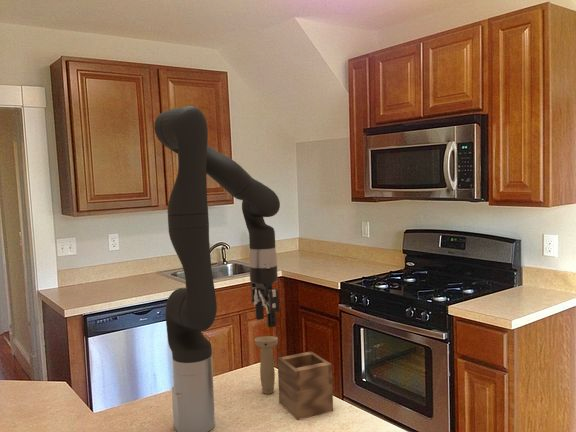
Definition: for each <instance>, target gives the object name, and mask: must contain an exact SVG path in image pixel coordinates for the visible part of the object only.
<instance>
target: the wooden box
mask: <svg viewBox="0 0 576 432" xmlns="http://www.w3.org/2000/svg"><path fill="white" fill-rule="evenodd" d="M277 376H278V377H277V379H278V381H277V382H278V383H277V384H278V403H279V404H280V405H281V406H282V407H283V408H284V409H285V410H287V412H289V413H290V414H291V415H292V416H293V417H294V418H295V419H296V420H301V419H306V418H310V417H315V416H317V415H321V414H326V413H329V412H333V411H334V397H333V396H334V395H333V394H334V393H333V391H334V390H333V388H334V387H333V364H332V363H331V362H329V361H328V360H326V359H324V358H322V357H321V356H320V355H318V354H317V353H315V352H313V351H312V350H311V351H306V352H301V353H300V352H299V353H295V354H291V355H286V356H281V357H280V356H279V357H277Z"/></svg>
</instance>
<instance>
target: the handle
mask: <svg viewBox="0 0 576 432" xmlns="http://www.w3.org/2000/svg"><path fill="white" fill-rule="evenodd" d="M278 344H279V338H278V336H270V335H269V336H268V335H266V336H265V335H264V336H263V335H262V336H257V337H255V338H254V345H255V346H256V347H259V349H260V365H259V367H260V368H259V369H260V370H259V376H260V377H259V378H260V385H261V391H262V393H263V394H266V395H270V394H273V393H274V391H275V390H274V389H275V380H276V379H275V378H276V377H275V375H276V373H275V363H274V347H275V346H277V345H278Z"/></svg>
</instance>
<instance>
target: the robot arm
mask: <svg viewBox="0 0 576 432" xmlns="http://www.w3.org/2000/svg"><path fill="white" fill-rule="evenodd" d="M153 128H154V133H155V136H156V139H157V140H158V141H159V142H160V143H161V144H162V145H163V146H164V147H165V148H167V149H169V150H171V151H172V152H174V153H175V154H177V160H178V166H177V167H178V169H177V175H176V178H175V181H174V184H173V187H172V189H171V192H170V195H169V199H168V203H167V224H168V225H167V227H168V229H167V230H168V235H169V239H170V242H171V244H172V247H173V250H174V251H175V253H176V255H177V257H178V260H179V261H180V263H181V266H182V269H183V274H184V278H185V279H184V280H185V287H180V288H176V289H175V290H173V292H171V293H170V295H169V296H168V299H167V301H166V304H165V323H166V333H167V336H166V337H167V343H168V347H169V349H170V350H171V355H172V374H173V386H172V387H171V395H172V396H171V397H172V417H173V420H172V421H173V426H174V429H175V431H176V432H211V430H213V429H214V427H215V424H216V420H215V418H216V417H215V416H216V415H215V397H214V393H215V392H214V376H213V375H214V373H213V372H214V371H213V353H212V352H213V349H212V343H211V342H210V341H209V339H207V338H206V336H205V335H204V334H203V332H205V331H207V330H208V329H210V328H211V327H212V325H213V324H214V322H215V320H216V316H217V310H218V309H217V308H218V306H217V304H218V303H217V296H216V290H215V289H216V288H215V284H214V277H213V271H212V260H211V256H212V255H211V247H210V246H211V245H210V223H209V222H210V220H209V207H208V189H207V188H208V185H207V184H208V183H207V176H209V177H210V178H211V179H212V180H214V181H215V182H216V183H218V185H220V186H221V187H222V188H223V189H224V190H225V191H226V192H227V193H229V194H230V195H231V197H233V198H235V199H236V200H239V201H242V202H241V209H242V211H241V212H242V215H243V218H244V221H245V225H246V228H247V231H248V236H249V237H248V238H249V239H248V240H249V243H248V245H249V251H248V252H249V253H248V261H249V262H248V263H249V264H248V265H249V281H250V286H251V287H250V289H251V290H250V291H251V292H250V293H251V294H250V295H251V296H250V297H251V303H253V305H254V310H255V319H256V320H257V321H261V320H263V319H264V318H265V316H264V315H265V313H264V311H265V310H266V324H267V325H266V326H267V327H268V328H275V327H276V325H277V319H276V317H277V316H276V315H277V314H276V313H279V312H280V297H279V290H278V288H276V289H275V288H274V287H273V286H274V285H273V283H276V282H277V281H278V278H279V277H278V259H277V258H278V256H277V250H276V233H275V228H274V227H273V226H271V225H269V224H267V223H266V222H265V218H270V217H271V218H272V217H273V216H275V215H277V214H278V213H279V211H280V208H281V206H280V205H281V202H280V199H279V198H280V197H279V196H278V194H277V193H276V192H275V191H274V190H273V189H271V188H270V187H268V186H267V185H265V184H264V183H262V182H260V181H259V180H257V179H255V178H253V177H252V175H251V174H250V173H248V172H247V171H246V170H245V169H244V168H243V166H241V165H240V164H239V163H238V162H236V161H234V160H233V159H231V158H230V157H228V156H226V155H224V154H223V153H221V152H220V151H217V150H215V149H214V148H212V147H211V146H209V145H208V141H209V140H208V139H209V134H208V133H209V130H208V124H207V120H206V116H205V115H204V113H203V112H202V111H201V109H200V108H198V107H196V106H193V105H188V106H186V105H185V106H180V107H176V108H172V109H168V110H165V111H162V112H161V113H159V114H158V116H156V119H155V121H154V126H153ZM264 308H265V310H264Z"/></svg>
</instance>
